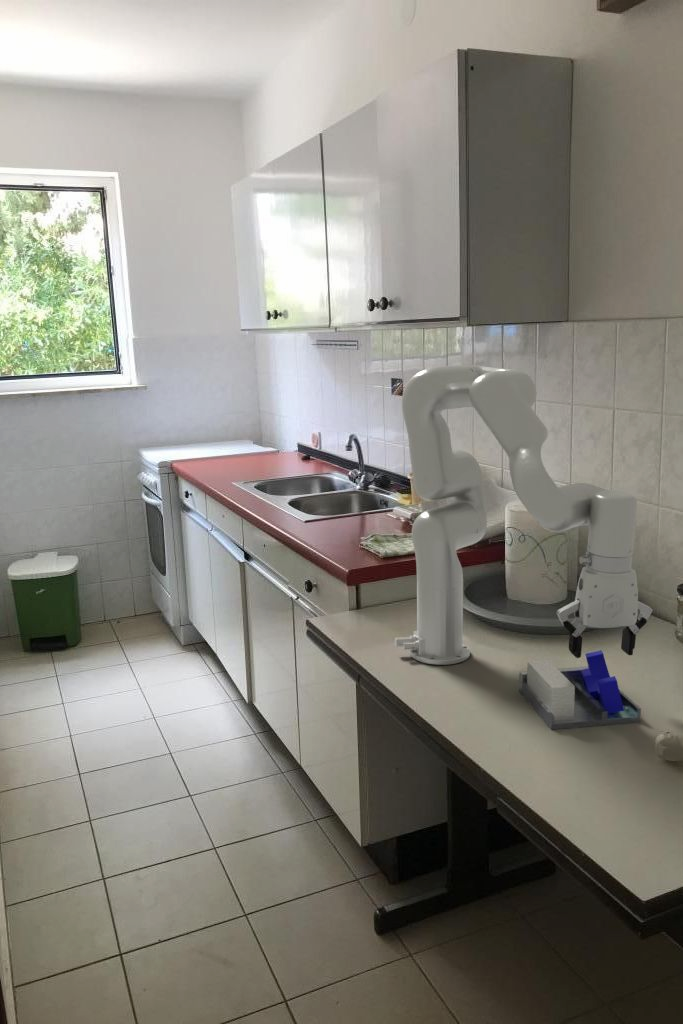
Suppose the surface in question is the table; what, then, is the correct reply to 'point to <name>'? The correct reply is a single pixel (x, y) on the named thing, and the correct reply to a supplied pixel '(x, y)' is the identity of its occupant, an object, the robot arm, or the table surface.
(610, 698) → the blue curved block
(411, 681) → the table surface
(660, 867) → the table surface
